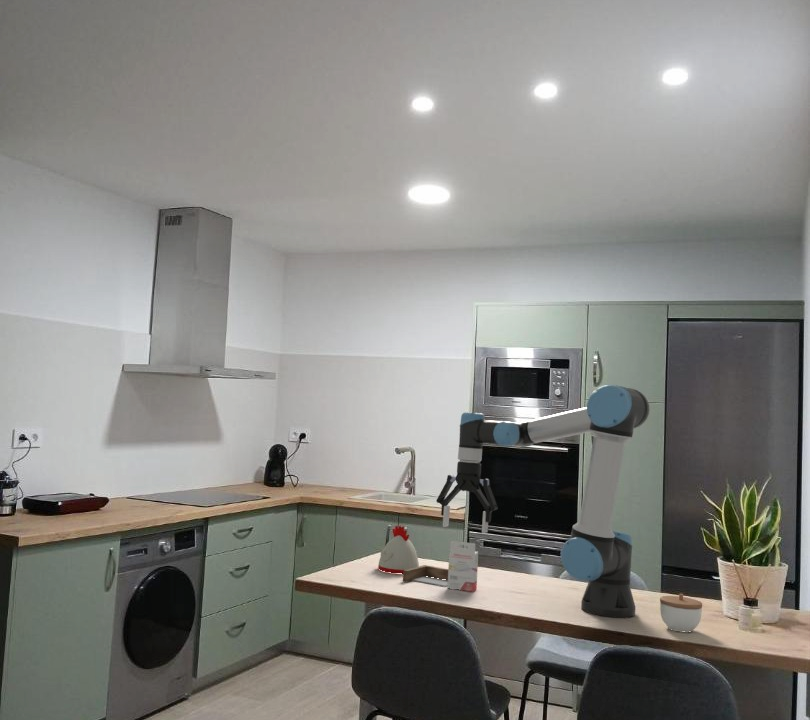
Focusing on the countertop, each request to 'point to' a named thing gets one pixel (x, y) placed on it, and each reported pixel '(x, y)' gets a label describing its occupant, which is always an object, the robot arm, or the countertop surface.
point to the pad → (432, 581)
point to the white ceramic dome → (398, 553)
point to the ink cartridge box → (462, 566)
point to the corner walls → (424, 573)
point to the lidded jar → (680, 612)
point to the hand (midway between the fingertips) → (464, 529)
